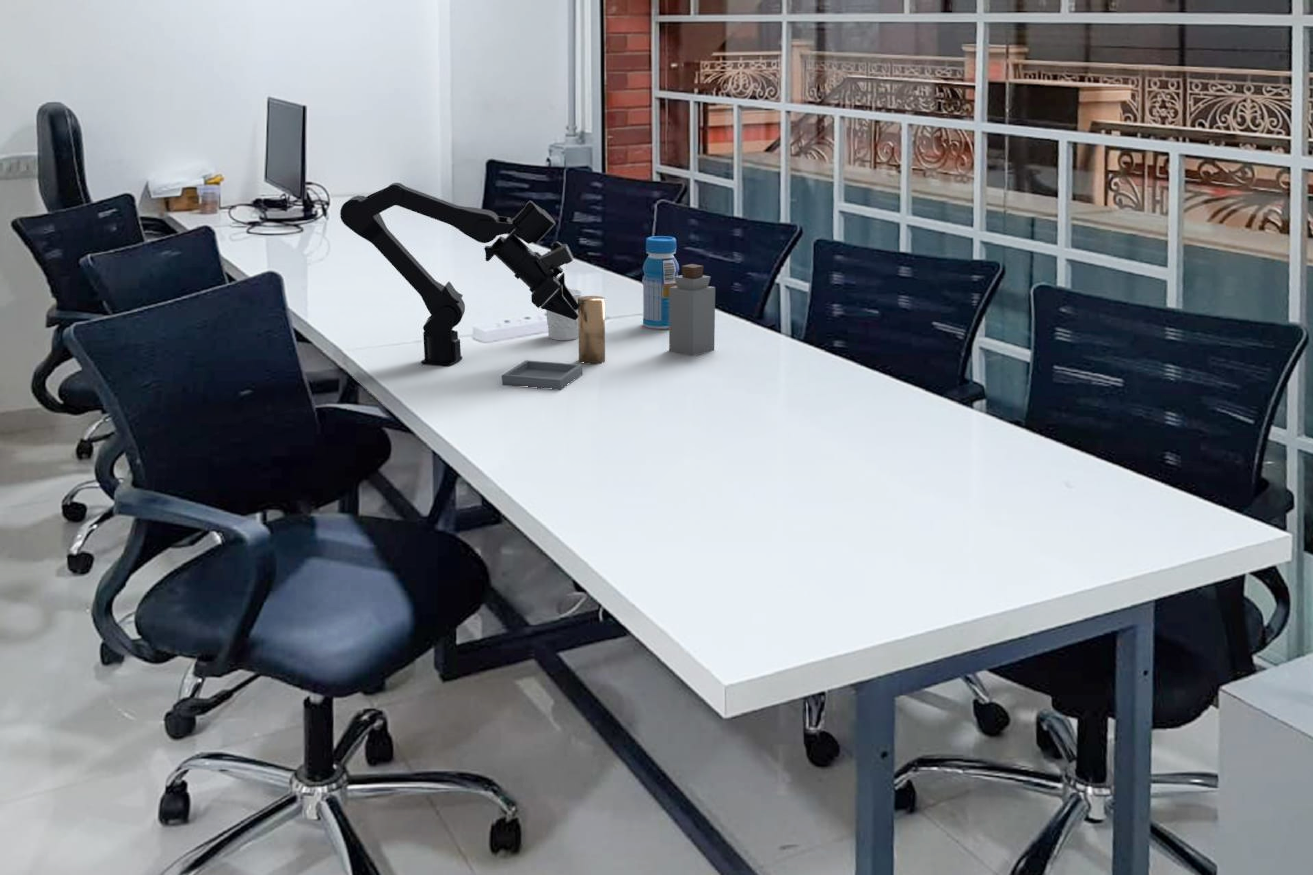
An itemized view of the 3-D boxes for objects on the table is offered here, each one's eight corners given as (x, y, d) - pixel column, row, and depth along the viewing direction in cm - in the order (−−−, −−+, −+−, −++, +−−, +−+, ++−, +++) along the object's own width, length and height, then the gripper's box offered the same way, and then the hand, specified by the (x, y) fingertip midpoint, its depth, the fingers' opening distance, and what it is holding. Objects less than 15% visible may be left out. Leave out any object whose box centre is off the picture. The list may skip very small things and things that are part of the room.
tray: (502, 385, 265) (501, 375, 265) (526, 370, 276) (525, 360, 276) (560, 390, 262) (560, 380, 261) (582, 374, 273) (582, 364, 272)
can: (575, 363, 282) (573, 300, 278) (584, 356, 287) (583, 295, 283) (599, 365, 280) (599, 302, 276) (608, 358, 285) (608, 296, 281)
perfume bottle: (714, 350, 292) (715, 265, 287) (692, 355, 288) (693, 270, 282) (690, 344, 297) (691, 261, 291) (669, 350, 292) (669, 266, 287)
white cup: (563, 331, 309) (562, 287, 306) (589, 336, 304) (588, 291, 301) (538, 337, 303) (537, 292, 300) (565, 343, 298) (564, 297, 295)
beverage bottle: (639, 329, 311) (639, 240, 305) (645, 321, 319) (645, 234, 313) (676, 330, 310) (676, 241, 304) (682, 322, 318) (682, 235, 311)
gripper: (546, 239, 266) (604, 294, 270) (550, 224, 284) (605, 276, 288) (507, 279, 268) (565, 334, 272) (513, 262, 286) (568, 314, 290)
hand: (577, 313), depth 280 cm, fingers open, 9 cm apart
